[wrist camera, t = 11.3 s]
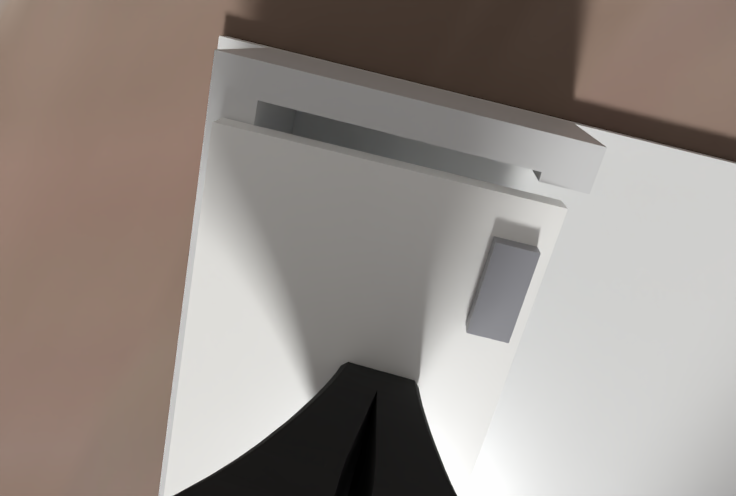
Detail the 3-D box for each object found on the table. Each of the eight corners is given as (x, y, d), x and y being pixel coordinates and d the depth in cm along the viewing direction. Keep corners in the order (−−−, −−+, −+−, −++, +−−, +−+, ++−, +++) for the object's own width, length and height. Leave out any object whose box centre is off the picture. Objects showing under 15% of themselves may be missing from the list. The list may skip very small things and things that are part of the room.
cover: (561, 200, 10) (572, 214, 9) (419, 595, 13) (419, 630, 12) (222, 117, 10) (205, 124, 9) (166, 531, 13) (150, 562, 12)
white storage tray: (972, 220, 11) (1148, 282, 8) (676, 693, 16) (724, 834, 13) (226, 36, 12) (154, 34, 9) (160, 537, 17) (99, 638, 14)
